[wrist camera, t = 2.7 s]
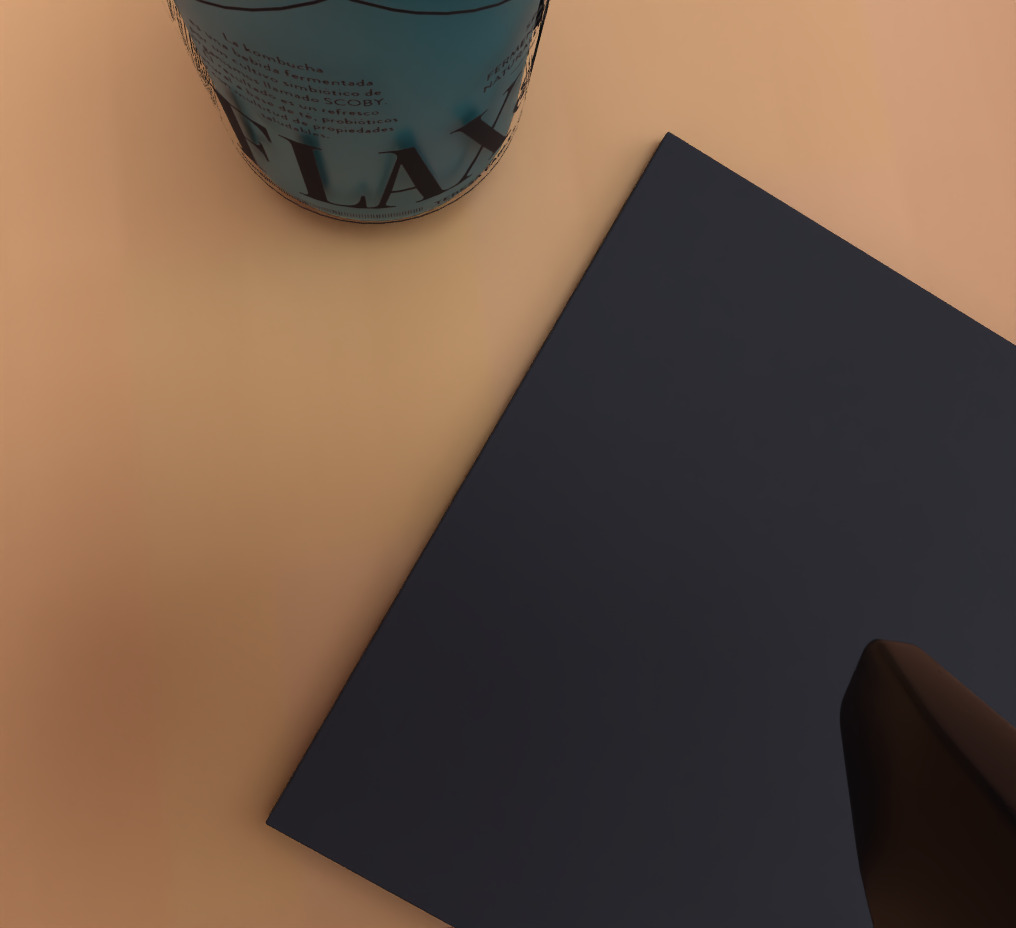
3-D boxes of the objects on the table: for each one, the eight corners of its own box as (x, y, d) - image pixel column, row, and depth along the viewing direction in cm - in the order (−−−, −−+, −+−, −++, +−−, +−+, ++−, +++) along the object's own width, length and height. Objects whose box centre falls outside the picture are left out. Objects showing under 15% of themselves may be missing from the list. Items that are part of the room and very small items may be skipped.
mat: (1015, 1224, 22) (1031, 1245, 21) (268, 815, 21) (264, 824, 20) (1340, 558, 23) (1364, 559, 23) (661, 140, 22) (668, 130, 21)
